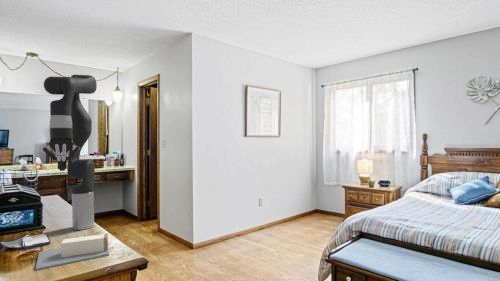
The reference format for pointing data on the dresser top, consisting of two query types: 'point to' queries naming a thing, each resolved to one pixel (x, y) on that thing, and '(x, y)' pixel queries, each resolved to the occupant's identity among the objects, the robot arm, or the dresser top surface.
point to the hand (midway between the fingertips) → (62, 170)
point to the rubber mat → (63, 258)
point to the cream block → (84, 245)
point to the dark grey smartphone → (37, 241)
